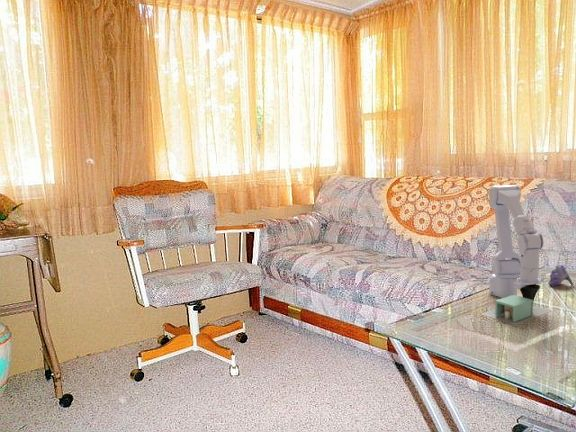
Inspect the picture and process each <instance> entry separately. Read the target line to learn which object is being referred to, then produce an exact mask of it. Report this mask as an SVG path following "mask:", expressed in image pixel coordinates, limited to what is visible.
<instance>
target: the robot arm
mask: <svg viewBox="0 0 576 432" xmlns="http://www.w3.org/2000/svg"><path fill="white" fill-rule="evenodd" d="M521 196H522V189H521V188H520V186H519V184H511V185H509V184H508V185H492V186H491V187H490V189H489V191H488V197H489V205H490V208H491V209H493V210H494V216H495V217H494V218H495V225H496V228H495V229H496V235H497V243H498V251H497V252H496V253H495V254H494V255H493V256H492V259H491V261H492V263H491V271H492V275H491V276H490V278H489V291H488V294H489V295H493V296H497V297H498V298H500V299H502V298H505V297H508V296H511V295H516V296H518V290H519V292H520V293H521V295H522V296H521V297H524V298H528V299H531V300H533V302H534V301H535V297H536V295H537V293H538V292H539V290H540V289H541V284H542V283H543V282H545V276H543V275H539V273H540V272H539V271H540V270H539V269H540V250H542V249H543V247H544V238H543V235H542V233H541V232H539V231H538V230H536V229H535V227H534V225H533V223H532V221H531V219H530V217H529V216H527V215H525V212H524V210H523V208H522V204H521V201H520V200H521ZM510 214H511V216H512V218H513V221H512V226H513V227H514V229H515V232H516V234H517V236H518V237H517V246H518V253H519V254H518V253H517V252H516V251H515V250H514V247H513V239H512V238H513V237H512V231H511V222H510ZM518 278H519V279H518Z"/></svg>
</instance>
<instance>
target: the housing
mask: <svg viewBox="0 0 576 432" xmlns="http://www.w3.org/2000/svg"><path fill="white" fill-rule="evenodd" d="M494 301H495V306H494V307H495V308H494V309H495V316H499V315H501V314H504V311H505V305H506V306H509V307H513V321H514V322H515V321H518V320H521V319H523V318H526V317H529V316H531V315H532V311H533V306H534V305H533V304H534V301H533V300H531V299H528V298H524V297H523V296H519V295H517V296H516V295H511V296H508V297H505V298H499V299H496V300H494Z"/></svg>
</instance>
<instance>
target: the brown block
mask: <svg viewBox="0 0 576 432" xmlns="http://www.w3.org/2000/svg"><path fill="white" fill-rule="evenodd" d="M505 310H509V311H510V318H511V319H513V307H509V306H506V305H505ZM504 316H505V311H504Z"/></svg>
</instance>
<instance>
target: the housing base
mask: <svg viewBox="0 0 576 432" xmlns="http://www.w3.org/2000/svg"><path fill="white" fill-rule="evenodd" d="M551 312H552V310H551V309H547V308H543V307H539V306H537V305H533V311H532V315H531V316H529V317H526V318H523V319H521V320H518V321H515V322H514V321H513V319H511V318H510V311H509V310H505V316H504V314H501V315H499V316H495V308H494V309H492V310H489V311H486V312H483V313H481V314H480V315H481V316H484V317H488V318H491V319H494V320H497V321H500V322H503V323H506V324H510V325H512V326H517V325H520V324H522V323H525V322H527V321H530V320H533V319H535V318H538V317H541V316H543V315H546V314H548V313H551Z"/></svg>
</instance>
